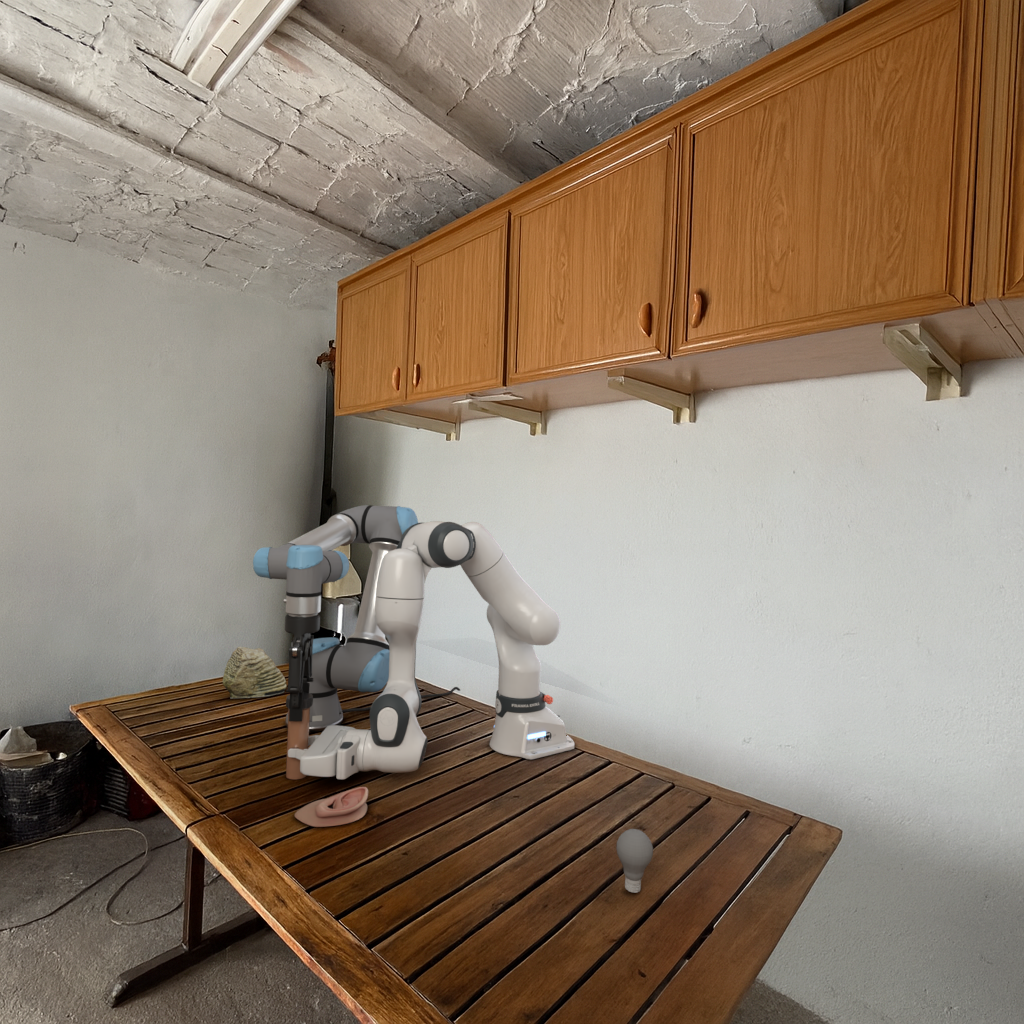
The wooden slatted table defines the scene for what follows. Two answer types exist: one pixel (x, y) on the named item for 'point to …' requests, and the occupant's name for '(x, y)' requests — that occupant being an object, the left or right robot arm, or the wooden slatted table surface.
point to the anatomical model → (335, 809)
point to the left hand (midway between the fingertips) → (299, 715)
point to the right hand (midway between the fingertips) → (293, 746)
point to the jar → (297, 743)
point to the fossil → (252, 674)
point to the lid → (306, 700)
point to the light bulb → (634, 857)
